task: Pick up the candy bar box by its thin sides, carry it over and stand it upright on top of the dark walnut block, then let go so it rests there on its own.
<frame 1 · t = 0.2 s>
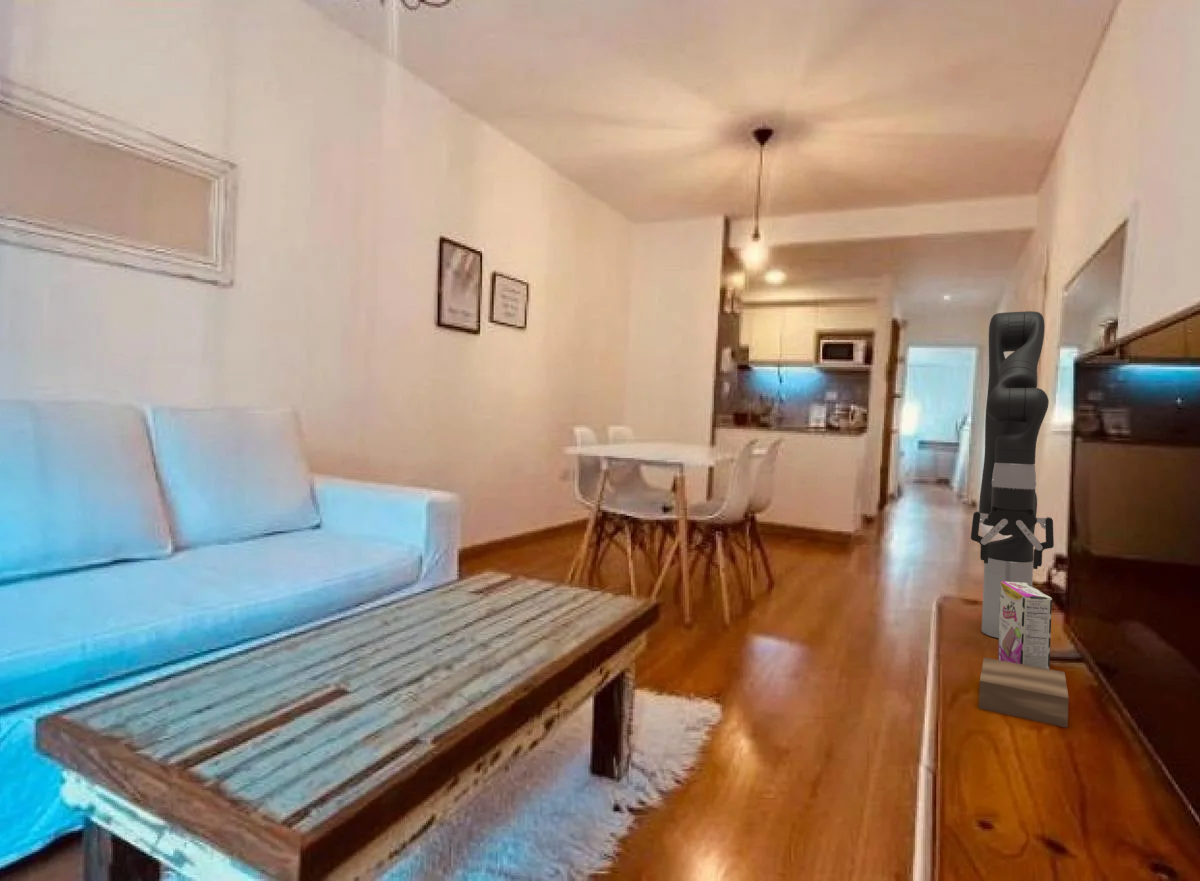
hand: (1010, 565, 135), 18 cm above the table, tool pointing down, fingers open, 8 cm apart
walnut block: (1021, 705, 112), on the table
candy bar box: (1021, 676, 125), on the table
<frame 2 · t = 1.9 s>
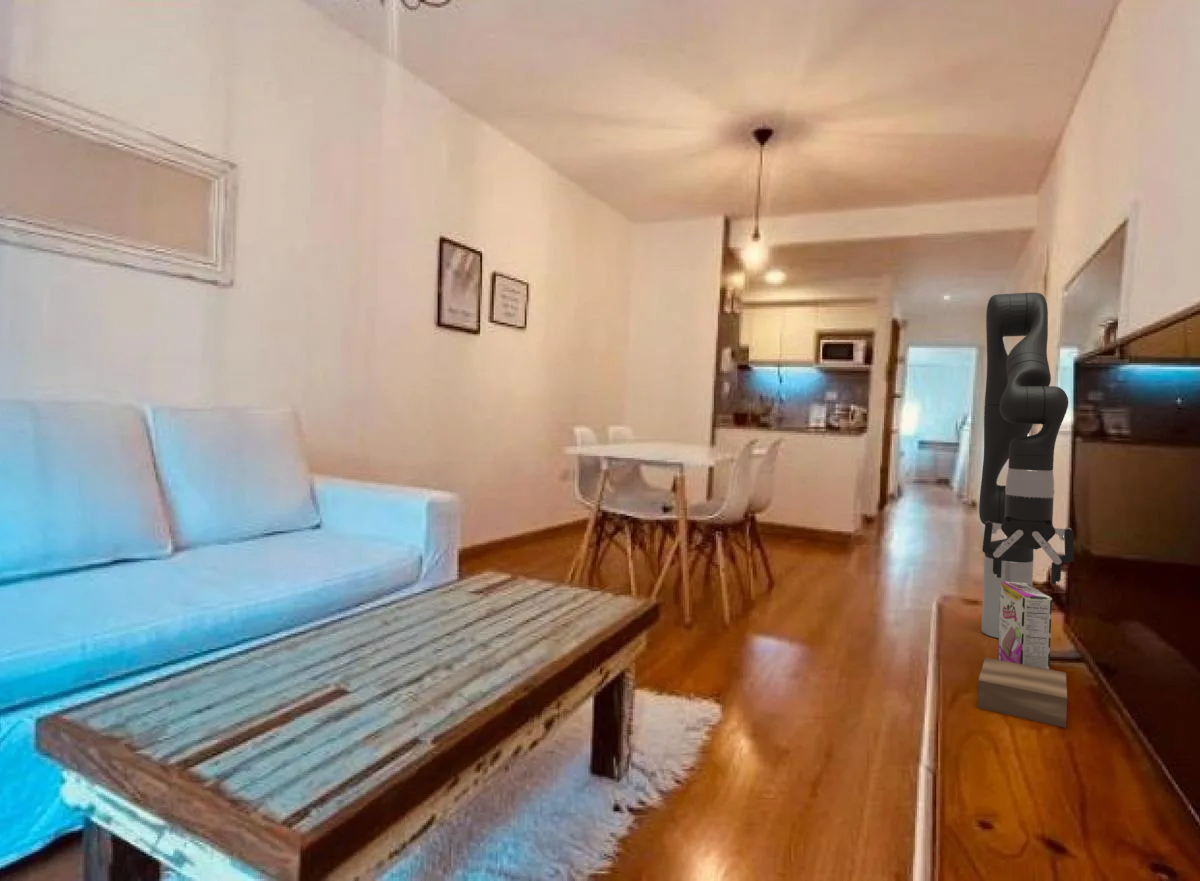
hand: (1025, 580, 124), 18 cm above the table, tool pointing down, fingers open, 8 cm apart
nothing on the table moved.
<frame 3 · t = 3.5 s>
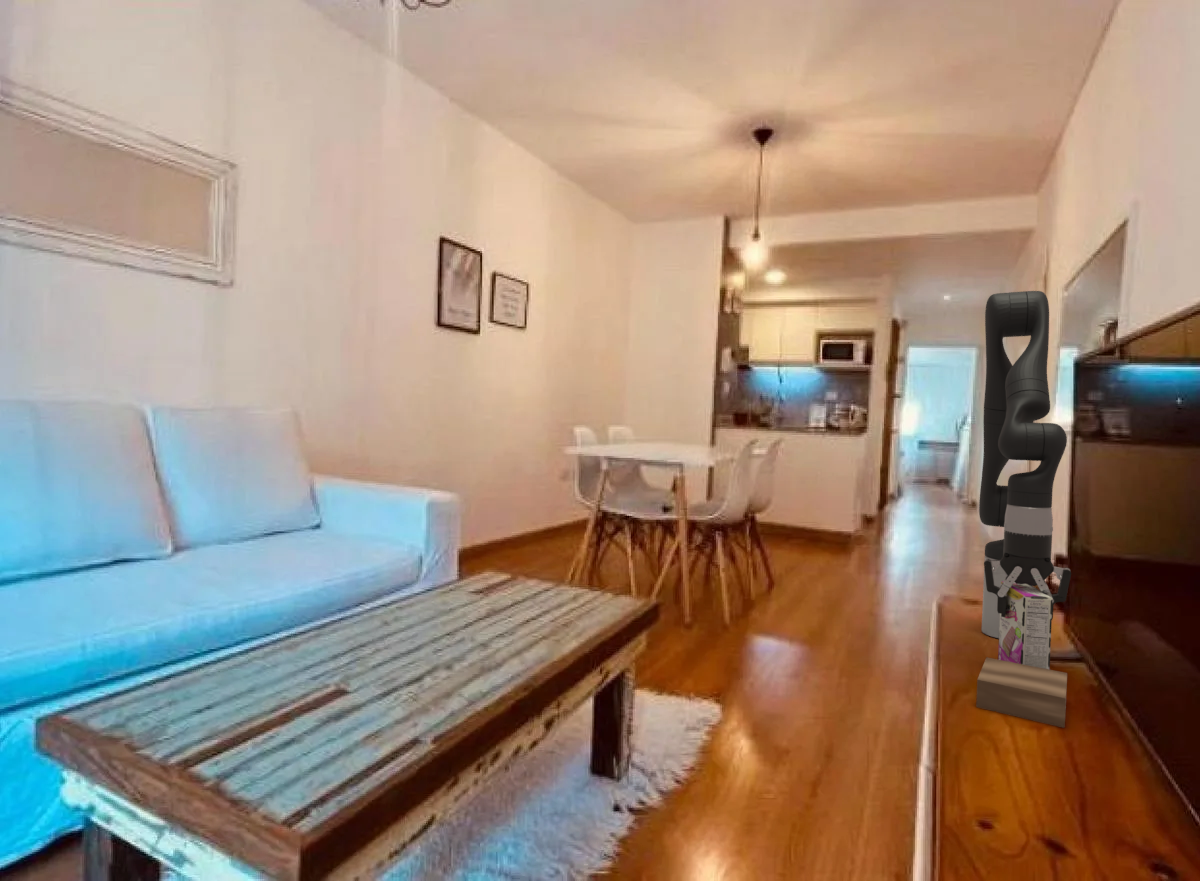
hand: (1024, 618, 125), 11 cm above the table, tool pointing down, fingers closed on candy bar box, 6 cm apart
candy bar box: (1021, 675, 125), on the table, touching gripper
everything else where it was.
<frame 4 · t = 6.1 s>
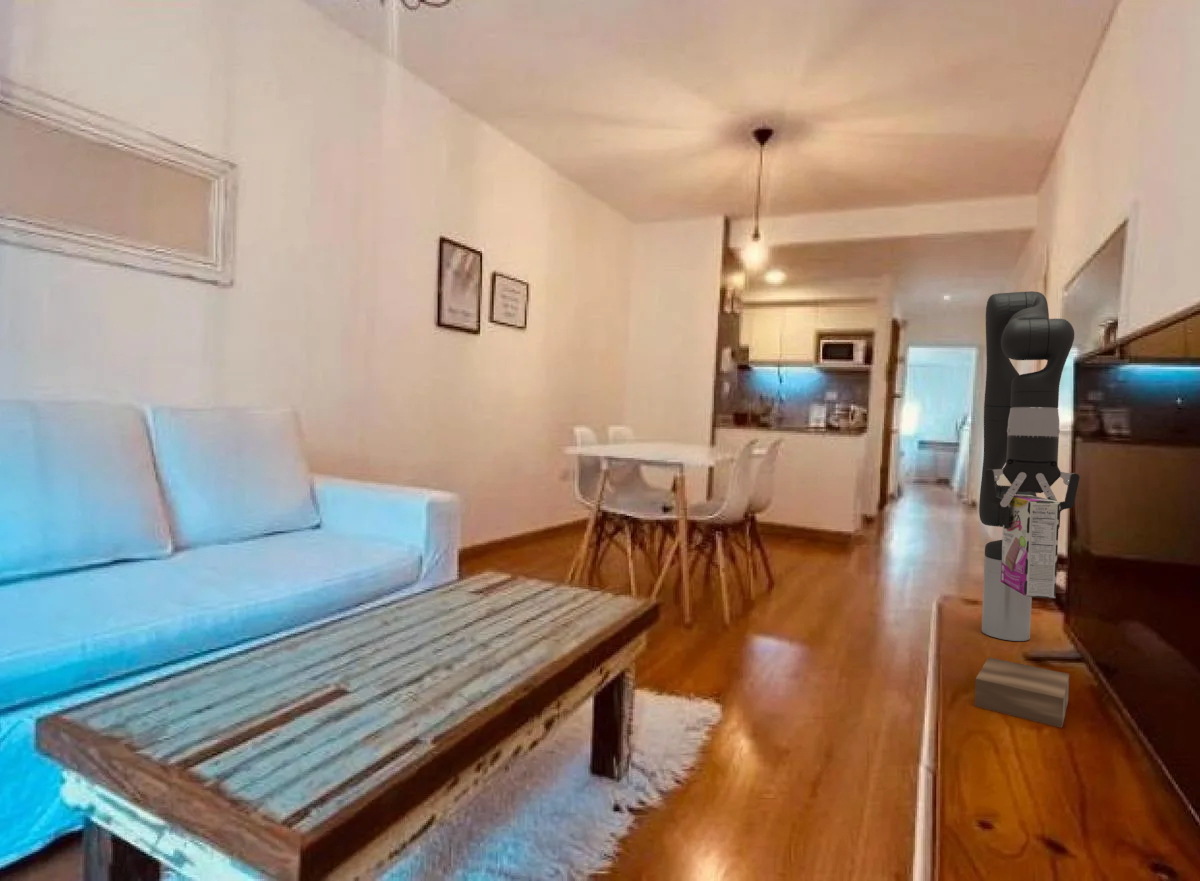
hand: (1028, 530, 116), 29 cm above the table, tool pointing down, fingers closed on candy bar box, 6 cm apart
candy bar box: (1025, 591, 116), point 18 cm above the table, touching gripper
everything else where it was.
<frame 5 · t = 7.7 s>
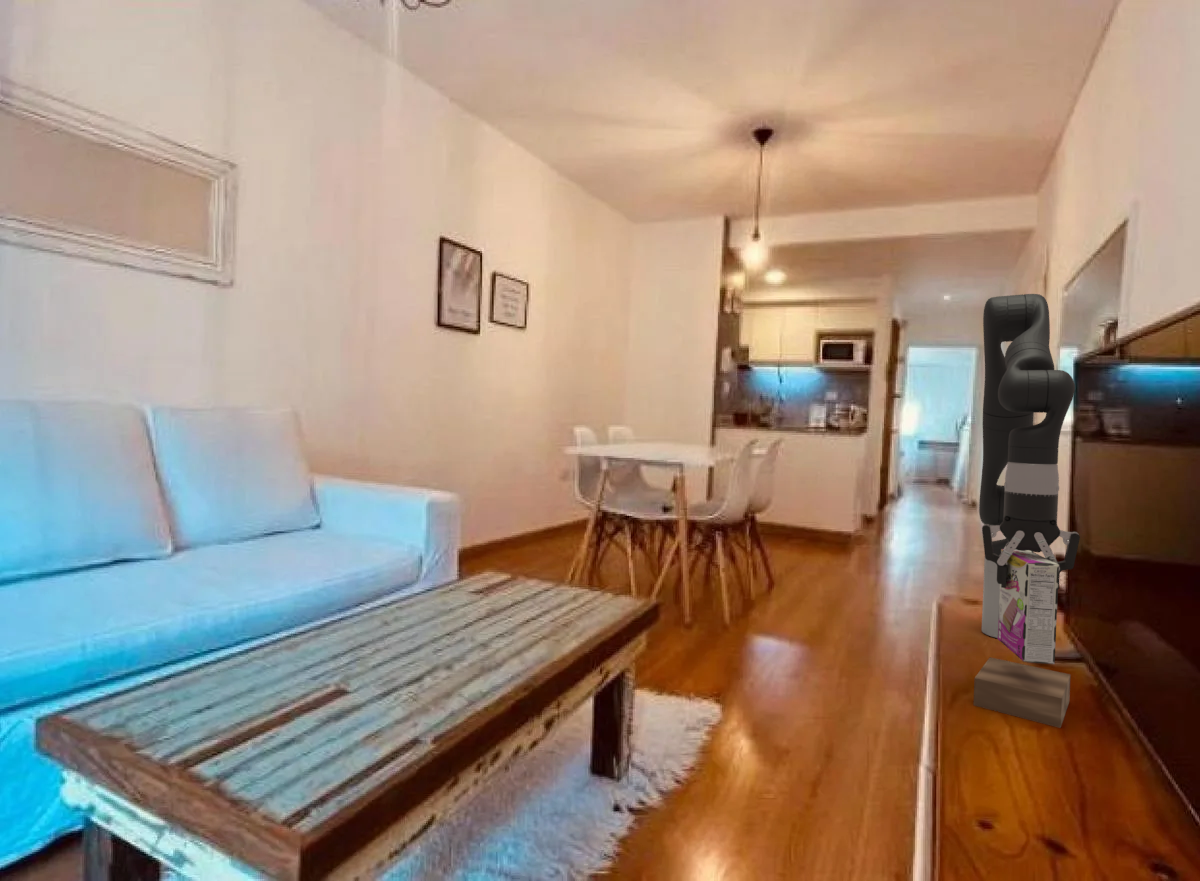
hand: (1026, 589, 112), 19 cm above the table, tool pointing down, fingers closed on candy bar box, 6 cm apart
candy bar box: (1023, 653, 112), point 8 cm above the table, touching gripper
everything else where it was.
when the fingers open (17 cm above the table, at t = 9.1 s): candy bar box drops 2 cm, resting on walnut block.
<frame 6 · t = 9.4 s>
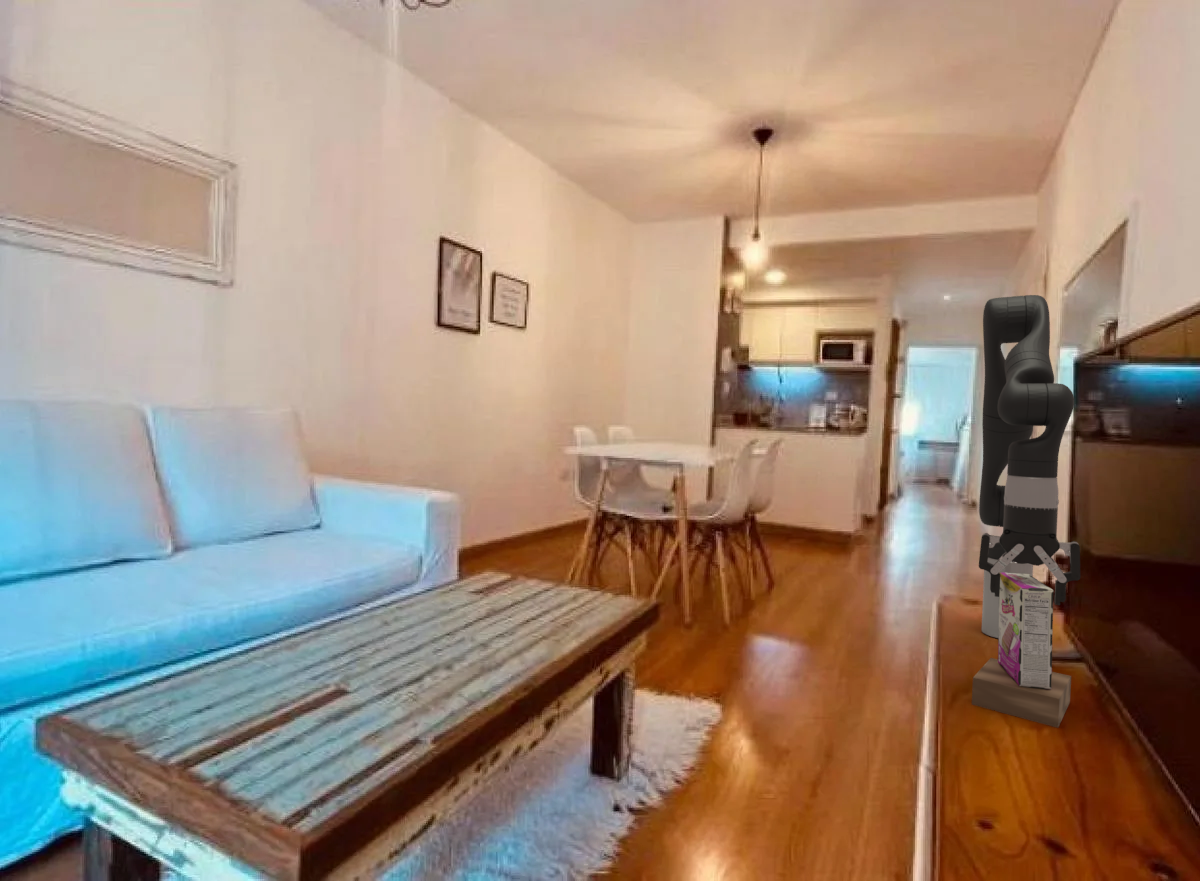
hand: (1026, 599, 112), 18 cm above the table, tool pointing down, fingers open, 8 cm apart
walnut block: (1021, 706, 112), on the table, touching candy bar box
candy bar box: (1022, 677, 112), point 4 cm above the table, touching walnut block
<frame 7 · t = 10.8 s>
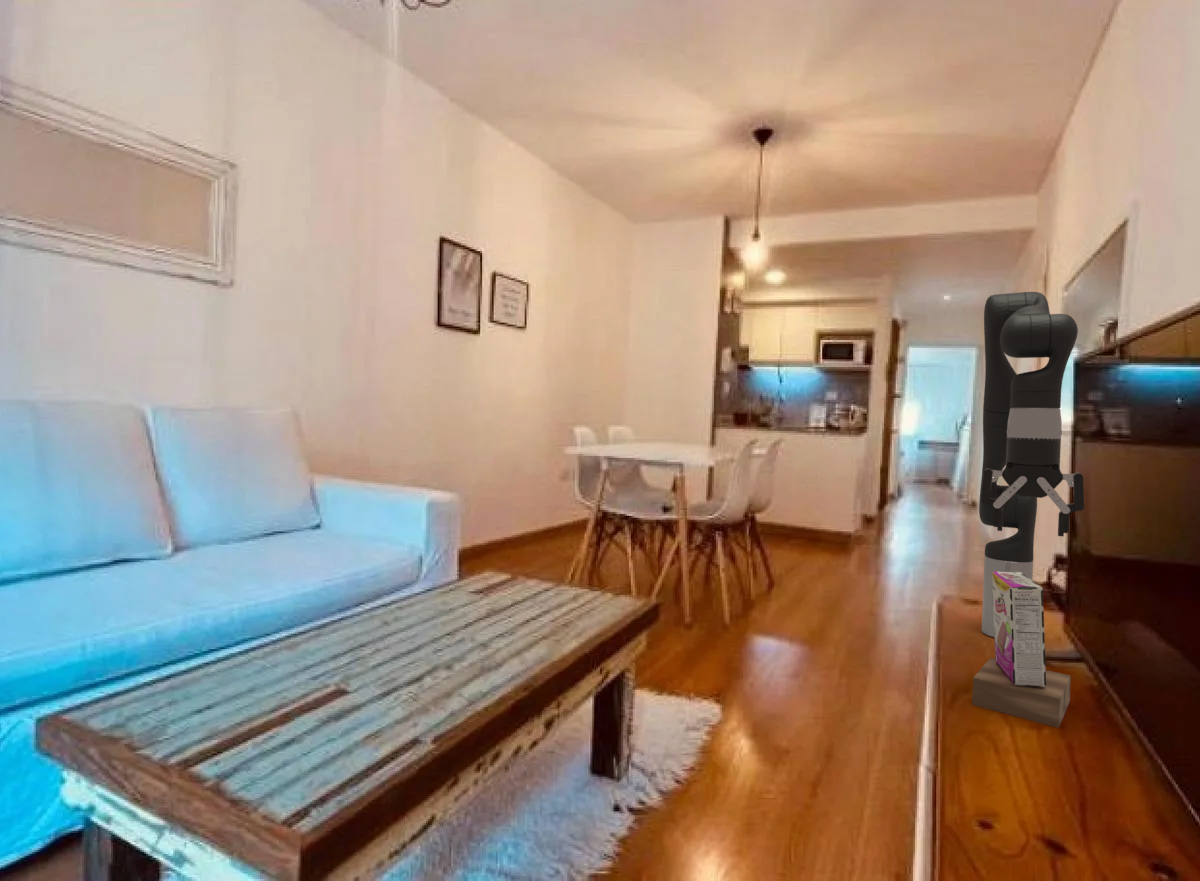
hand: (1029, 533, 111), 29 cm above the table, tool pointing down, fingers open, 8 cm apart
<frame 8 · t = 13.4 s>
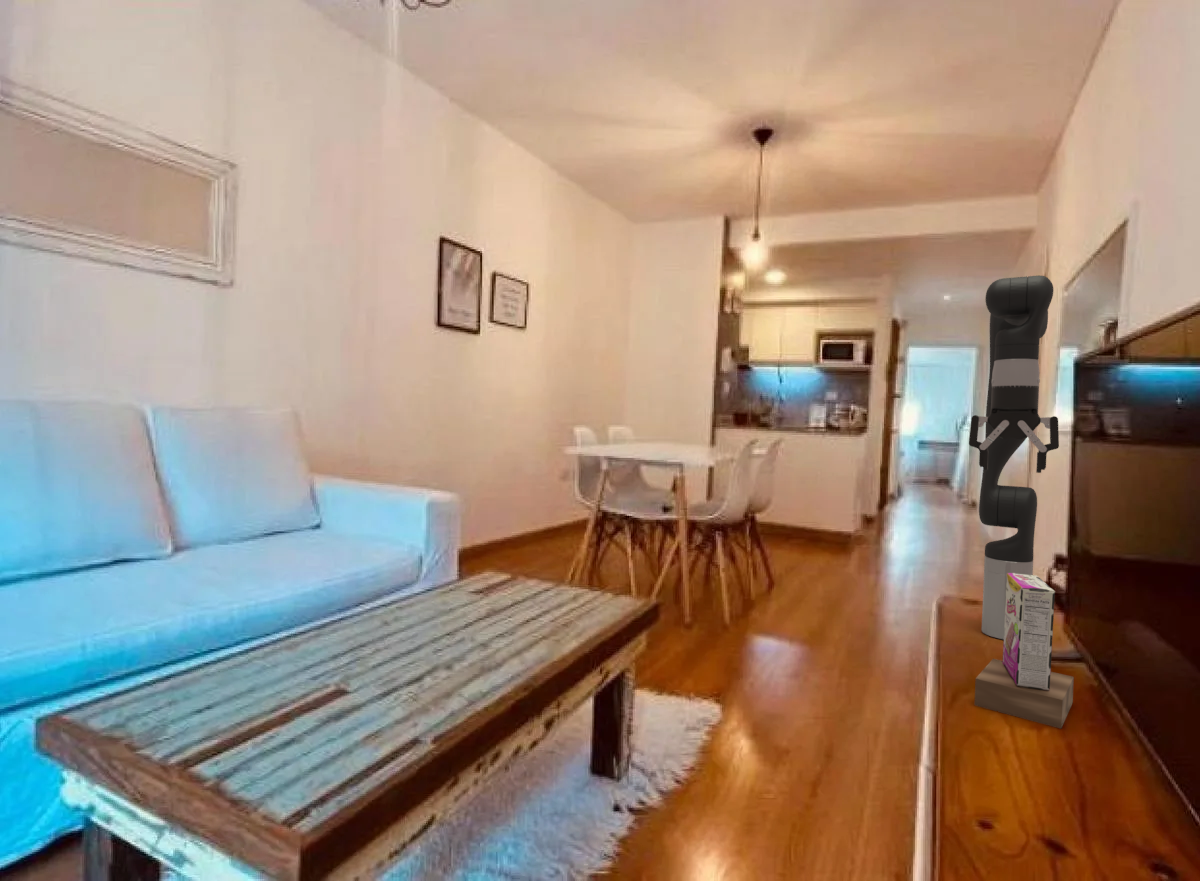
hand: (1011, 471, 125), 38 cm above the table, tool pointing down, fingers open, 8 cm apart
at the end: candy bar box inside the target area on the walnut block (0.2 cm from its centre), point 4.8 cm above the walnut block's base; candy bar box tilted 1°; candy bar box touching walnut block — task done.
